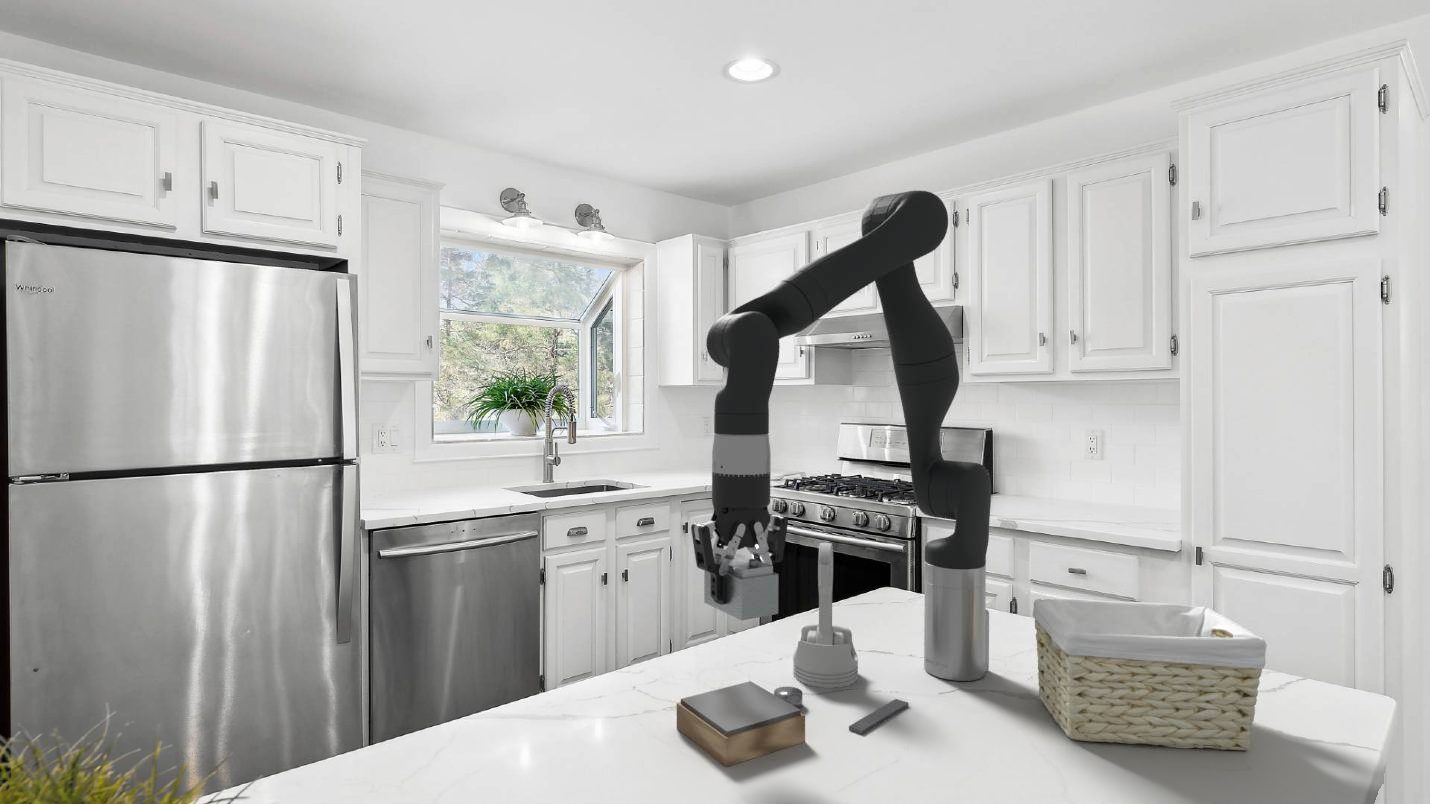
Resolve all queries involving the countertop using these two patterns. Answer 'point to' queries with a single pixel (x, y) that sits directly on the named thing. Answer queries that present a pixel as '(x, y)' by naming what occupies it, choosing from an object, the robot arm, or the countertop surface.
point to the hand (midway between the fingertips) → (740, 599)
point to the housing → (747, 589)
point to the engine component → (825, 638)
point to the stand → (740, 722)
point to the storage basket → (1147, 673)
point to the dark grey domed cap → (790, 695)
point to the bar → (878, 716)
